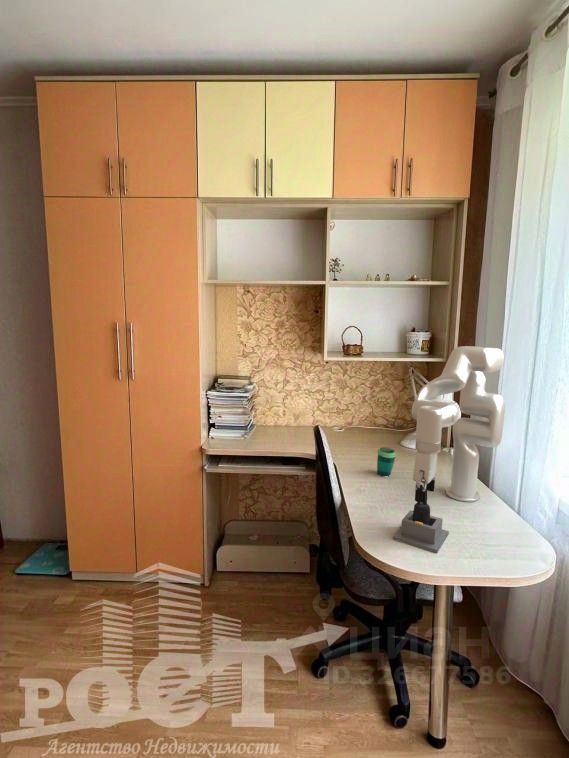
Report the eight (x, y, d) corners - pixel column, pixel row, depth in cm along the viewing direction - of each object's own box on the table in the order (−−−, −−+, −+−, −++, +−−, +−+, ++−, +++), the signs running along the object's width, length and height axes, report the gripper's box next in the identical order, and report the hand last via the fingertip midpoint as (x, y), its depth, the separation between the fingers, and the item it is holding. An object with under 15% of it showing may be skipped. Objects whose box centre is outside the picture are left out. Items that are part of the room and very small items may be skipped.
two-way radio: (426, 530, 143) (429, 487, 141) (432, 537, 139) (435, 492, 136) (410, 530, 142) (413, 487, 140) (415, 537, 138) (419, 493, 136)
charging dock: (406, 521, 151) (408, 504, 150) (448, 534, 143) (450, 515, 142) (392, 539, 139) (393, 520, 138) (437, 553, 131) (438, 533, 130)
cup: (388, 471, 198) (390, 445, 196) (398, 477, 190) (400, 451, 189) (372, 472, 196) (374, 447, 194) (382, 479, 188) (383, 453, 186)
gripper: (424, 436, 145) (421, 484, 148) (407, 450, 131) (404, 503, 134) (447, 440, 141) (443, 489, 144) (432, 455, 127) (428, 509, 130)
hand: (424, 496), depth 139 cm, fingers open, 9 cm apart
